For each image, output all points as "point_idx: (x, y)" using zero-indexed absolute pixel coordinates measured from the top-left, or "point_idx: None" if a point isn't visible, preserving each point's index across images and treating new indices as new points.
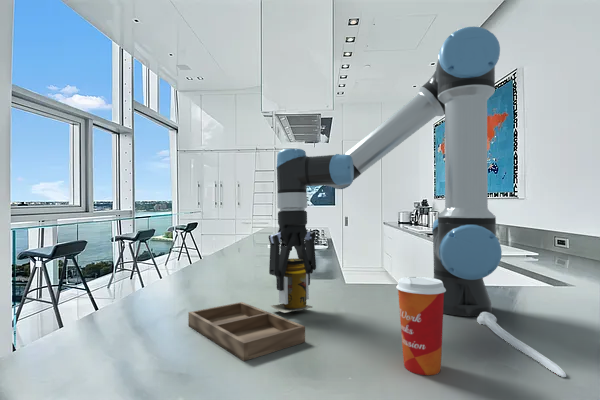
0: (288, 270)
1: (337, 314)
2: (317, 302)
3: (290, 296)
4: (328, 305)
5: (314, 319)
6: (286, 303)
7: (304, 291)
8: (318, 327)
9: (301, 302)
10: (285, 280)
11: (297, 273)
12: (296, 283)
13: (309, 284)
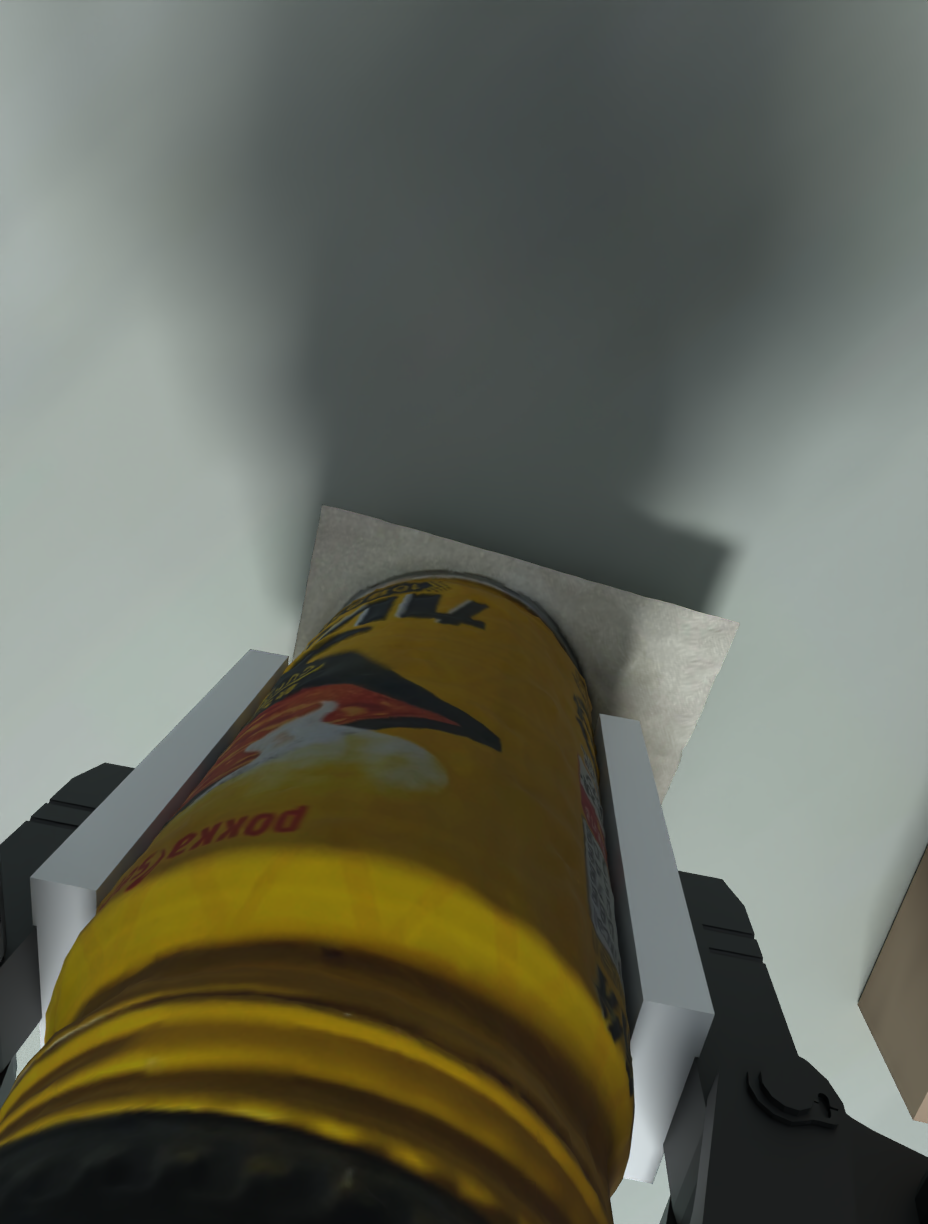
0: (600, 1158)
1: (189, 208)
2: (23, 708)
3: (585, 735)
4: (8, 542)
5: (538, 304)
6: (625, 722)
7: (371, 648)
8: (776, 25)
9: (468, 597)
10: (691, 960)
11: (486, 903)
12: (524, 770)
13: (99, 769)
